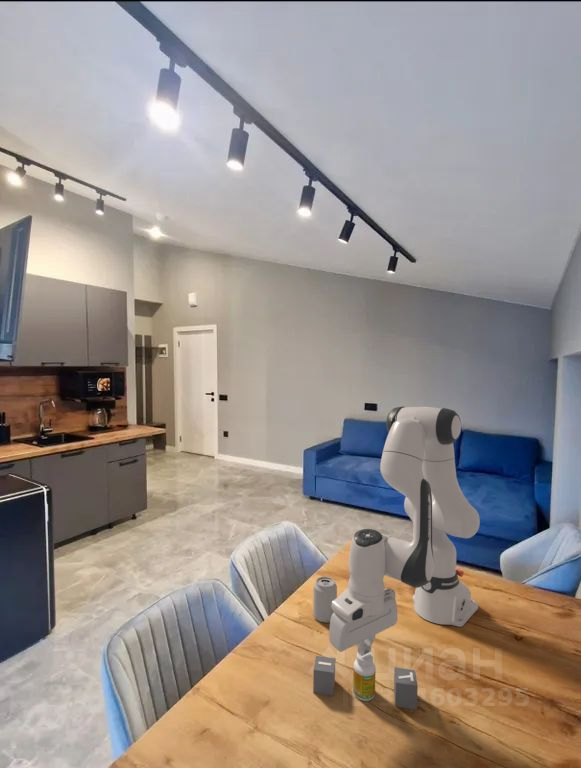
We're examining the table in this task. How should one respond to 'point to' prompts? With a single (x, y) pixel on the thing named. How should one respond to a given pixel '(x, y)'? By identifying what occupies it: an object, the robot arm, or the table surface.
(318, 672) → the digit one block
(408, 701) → the letter t block
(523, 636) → the table surface
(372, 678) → the supplement bottle
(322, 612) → the can
